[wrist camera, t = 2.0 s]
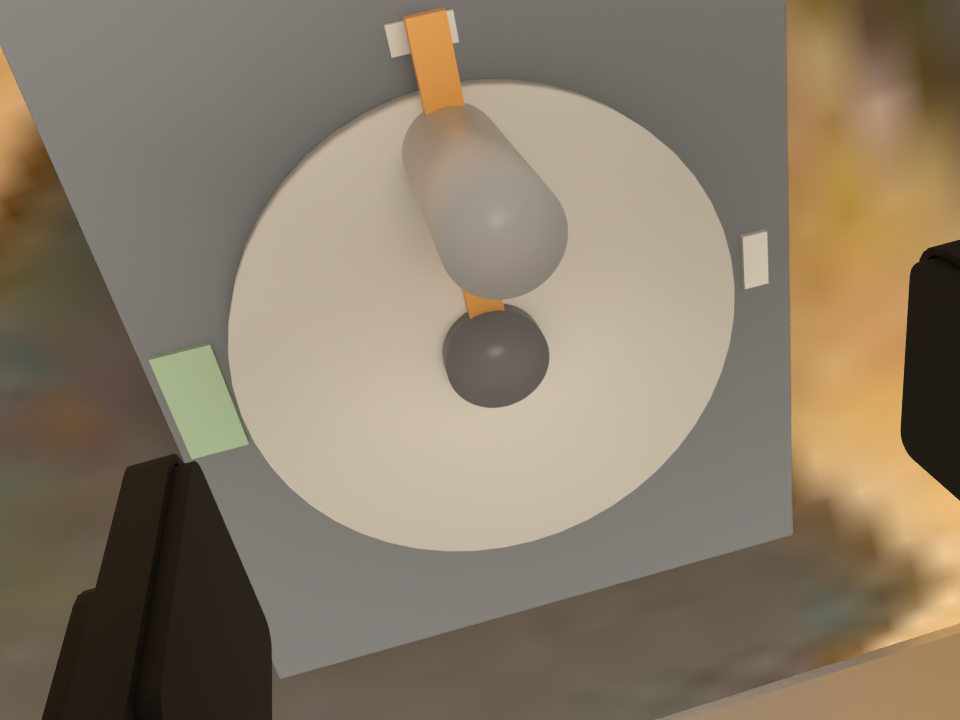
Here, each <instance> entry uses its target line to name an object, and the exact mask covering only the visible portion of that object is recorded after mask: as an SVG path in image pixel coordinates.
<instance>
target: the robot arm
mask: <svg viewBox="0 0 960 720" xmlns="http://www.w3.org/2000/svg"><path fill="white" fill-rule="evenodd" d="M901 438H902V442H903V445H904V447H905V449H906V451H907V453H908V454H909V456H910V457H911V458H912V459H913V460H914V461H915V462H917V463H918V464H919V465H920V466H921V467H922V468H923V469H924V470H926V471H927V472H928V473H929V474H930V475H931V476H932V477H934V478H935V479H936V480H937V481H938V482H939V483H940V484H942V485H943V486H944V487H945V488H946V489H947V490H948V491H949V492H951V493H952V494H953V495H954V496H955V497H956V498H957V499H959V500H960V240H957V241H953V242H950V243H946V244H942V245H939V246H935V247H931V248H928V249H927V250H926V251H924V252H923V254H922V256H921V258H920V261H919V262H918V263H916V264H915V265H914V266H913V268H912V269H911V273H910V283H909V299H908V316H907V332H906V349H905V366H904V382H903V399H902V416H901ZM42 720H272V643H271V636H270V631H269V627H268V623H267V620H266V618H265V615H264V613H263V610H262V608H261V606H260V603H259V601H258V599H257V596H256V594H255V592H254V589H253V587H252V585H251V582H250V580H249V578H248V575H247V573H246V571H245V569H244V566H243V564H242V562H241V559H240V557H239V555H238V552H237V550H236V548H235V545H234V543H233V541H232V538H231V536H230V534H229V531H228V529H227V527H226V524H225V522H224V520H223V517H222V515H221V513H220V510H219V508H218V506H217V503H216V501H215V499H214V496H213V494H212V492H211V490H210V487H209V485H208V483H207V480H206V478H205V476H204V473H203V471H202V469H201V467H200V465H199V464H198V463H197V462H196V461H192V462H188V463H184V464H183V462H182V460H181V459H180V458H179V457H178V456H177V455H176V454H172V455H168V456H165V457H161V458H157V459H154V460H150V461H146V462H143V463H139V464H135V465H132V466H129V467H127V469H126V471H125V473H124V477H123V481H122V485H121V489H120V493H119V497H118V501H117V505H116V509H115V513H114V517H113V521H112V525H111V529H110V533H109V537H108V541H107V545H106V548H105V552H104V556H103V560H102V564H101V568H100V572H99V576H98V580H97V584H96V588H93V589H89V590H86V591H83V592H82V593H81V594H80V595H78V596H77V599H76V601H75V603H74V605H73V608H72V612H71V616H70V619H69V623H68V626H67V630H66V634H65V637H64V641H63V644H62V648H61V652H60V655H59V659H58V662H57V666H56V670H55V673H54V677H53V681H52V684H51V688H50V691H49V695H48V699H47V702H46V706H45V709H44V713H43V717H42ZM657 720H960V624H957V625H954V626H951V627H948V628H945V629H941V630H938V631H935V632H932V633H929V634H925V635H922V636H919V637H916V638H913V639H910V640H906V641H903V642H900V643H897V644H894V645H890V646H887V647H884V648H881V649H878V650H875V651H871V652H868V653H865V654H862V655H859V656H855V657H852V658H849V659H846V660H843V661H840V662H836V663H833V664H830V665H827V666H824V667H821V668H817V669H814V670H811V671H808V672H805V673H802V674H798V675H795V676H792V677H789V678H786V679H783V680H779V681H776V682H773V683H770V684H767V685H764V686H760V687H757V688H754V689H751V690H748V691H745V692H742V693H738V694H735V695H732V696H729V697H726V698H723V699H719V700H716V701H713V702H710V703H707V704H704V705H701V706H697V707H694V708H691V709H688V710H685V711H682V712H679V713H676V714H673V715H669V716H666V717H663V718H660V719H657Z"/></svg>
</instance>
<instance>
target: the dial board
mask: <svg viewBox="0 0 960 720" xmlns="http://www.w3.org/2000/svg"><path fill="white" fill-rule="evenodd" d="M442 7H443V8H445V9H446V12H447V17H448V22H449V27H450V32H451V37H452V42H453V48H454V53H455V58H456V63H457V68H458V73H459V78H460V81H464V80H471V79H515V80H524V81H533V82H542V83H546V84H550V85H553V86H557V87H561V88H565V89H569V90H573V91H576V92H578V93H581V94H583V95H586V96H588V97H590V98H593V99H595V100H598V101H600V102H602V103H605V104H607V105H608V106H610V107H612V108H613V109H615V110H617V111H618V112H620V113H622V114H623V115H625V116H627V117H628V118H630V119H631V120H633V121H635V122H636V123H638V124H639V125H640V126H642V127H643V128H645V129H646V130H648V131H649V132H650V133H651V134H653V135H654V136H655V137H656V138H657V139H659V140H660V141H661V142H662V143H663V144H665V145H666V146H667V147H668V148H669V149H671V150H672V151H673V152H674V153H675V154H676V155H677V156H678V157H679V159H680V160H681V161H682V162H683V163H684V164H685V165H686V167H687V168H688V169H689V170H690V171H691V172H692V173H693V175H694V176H695V177H696V179H697V180H698V182H699V183H700V185H701V187H702V188H703V190H704V191H705V193H706V194H707V196H708V198H709V199H710V201H711V202H712V205H713V207H714V209H715V212H716V214H717V216H718V218H719V221H720V223H721V225H722V227H723V230H724V234H725V237H726V241H727V245H728V248H729V252H730V256H731V261H732V269H733V278H734V286H735V293H734V320H733V326H732V332H731V339H730V345H729V348H728V352H727V355H726V359H725V362H724V366H723V369H722V372H721V375H720V377H719V379H718V382H717V384H716V386H715V389H714V391H713V393H712V396H711V398H710V400H709V402H708V404H707V405H706V407H705V409H704V410H703V412H702V414H701V416H700V417H699V419H698V421H697V423H696V424H695V426H694V427H693V428H692V430H691V431H690V432H689V434H688V435H687V437H686V438H685V439H684V441H683V442H682V443H681V445H680V446H679V447H678V449H677V450H676V451H675V452H674V453H673V454H672V455H671V456H670V457H669V458H668V459H667V460H666V462H665V463H664V464H663V465H662V466H661V467H660V468H659V469H658V470H657V471H656V472H655V473H654V474H652V475H651V476H650V477H649V478H648V479H647V480H646V481H645V482H643V483H642V484H641V485H640V486H639V487H638V488H637V489H635V490H634V491H632V492H631V493H630V494H628V495H627V496H625V497H624V498H623V499H621V500H620V501H618V502H617V503H616V504H614V505H613V506H611V507H609V508H608V509H606V510H604V511H602V512H601V513H599V514H597V515H595V516H594V517H592V518H590V519H588V520H586V521H584V522H582V523H580V524H577V525H575V526H573V527H571V528H568V529H566V530H564V531H562V532H559V533H556V534H553V535H550V536H547V537H544V538H541V539H538V540H535V541H531V542H527V543H522V544H518V545H513V546H509V547H504V548H496V549H488V550H479V551H437V550H426V549H417V548H412V547H407V546H402V545H397V544H392V543H388V542H385V541H382V540H379V539H376V538H373V537H370V536H367V535H364V534H361V533H359V532H357V531H355V530H353V529H351V528H349V527H346V526H344V525H342V524H340V523H338V522H336V521H334V520H333V519H331V518H330V517H328V516H326V515H325V514H323V513H322V512H320V511H319V510H317V509H315V508H314V507H312V506H311V505H310V504H309V503H307V502H306V501H305V500H304V499H303V498H301V497H300V496H299V495H298V494H297V493H295V492H294V491H293V490H292V489H291V488H290V487H289V486H288V485H287V484H286V483H285V482H284V481H283V480H282V479H281V477H280V476H279V475H278V474H277V473H276V472H275V471H274V470H273V469H272V468H271V466H270V465H269V464H268V462H267V461H266V459H265V458H264V456H263V455H262V453H261V452H260V450H259V449H258V447H257V446H256V444H255V443H254V441H253V439H252V437H251V435H250V433H249V430H248V428H247V426H246V424H245V422H244V420H243V418H242V416H241V413H240V409H239V406H238V403H237V400H236V396H235V393H234V390H233V386H232V380H231V373H230V366H229V359H228V323H229V316H230V309H231V302H232V296H233V290H234V284H235V277H236V273H237V269H238V266H239V263H240V260H241V257H242V254H243V250H244V247H245V244H246V241H247V239H248V237H249V235H250V233H251V231H252V229H253V227H254V225H255V223H256V221H257V219H258V217H259V215H260V213H261V211H262V209H263V208H264V206H265V205H266V203H267V202H268V201H269V199H270V198H271V196H272V195H273V193H274V192H275V190H276V189H277V187H278V186H279V184H280V183H281V182H282V180H283V179H284V178H285V177H286V176H287V175H288V174H289V173H290V172H291V170H292V169H293V168H294V167H295V166H296V165H297V164H298V163H299V162H300V160H301V159H302V158H303V157H304V156H305V155H306V154H307V153H309V152H310V151H311V150H312V149H313V148H315V147H316V146H317V145H318V144H319V143H320V142H322V141H323V140H324V139H325V138H326V137H328V136H329V135H330V134H331V133H332V132H334V131H335V130H337V129H338V128H340V127H342V126H343V125H345V124H346V123H348V122H349V121H351V120H353V119H354V118H356V117H357V116H359V115H360V114H362V113H364V112H366V111H368V110H370V109H372V108H374V107H376V106H379V105H381V104H383V103H385V102H387V101H389V100H392V99H394V98H396V97H398V96H401V95H405V94H408V93H411V92H414V91H418V90H419V89H418V85H417V80H416V75H415V71H414V66H413V62H412V57H411V53H410V48H409V43H408V39H407V34H406V30H405V25H404V21H403V16H407V15H412V14H416V13H420V12H425V11H429V10H433V9H438V8H442ZM0 46H1V48H2V50H3V52H4V55H5V57H6V59H7V61H8V64H9V66H10V68H11V70H12V73H13V75H14V77H15V80H16V82H17V84H18V86H19V89H20V91H21V93H22V95H23V98H24V100H25V102H26V104H27V107H28V109H29V111H30V113H31V116H32V118H33V120H34V123H35V125H36V127H37V129H38V132H39V134H40V136H41V138H42V141H43V143H44V145H45V147H46V150H47V152H48V154H49V156H50V159H51V161H52V163H53V166H54V168H55V170H56V172H57V175H58V177H59V179H60V181H61V184H62V186H63V188H64V190H65V193H66V195H67V197H68V200H69V202H70V204H71V206H72V209H73V211H74V213H75V215H76V218H77V220H78V222H79V224H80V227H81V229H82V231H83V233H84V236H85V238H86V240H87V243H88V245H89V247H90V249H91V252H92V254H93V256H94V258H95V261H96V263H97V265H98V267H99V270H100V272H101V274H102V277H103V279H104V281H105V283H106V286H107V288H108V290H109V292H110V295H111V297H112V299H113V301H114V304H115V306H116V308H117V310H118V313H119V315H120V317H121V320H122V322H123V324H124V326H125V329H126V331H127V333H128V335H129V338H130V340H131V342H132V344H133V347H134V349H135V351H136V354H137V356H138V358H139V360H140V363H141V365H142V367H143V369H144V372H145V374H146V376H147V378H148V381H149V383H150V385H151V387H152V390H153V392H154V394H155V397H156V399H157V401H158V403H159V406H160V408H161V410H162V412H163V415H164V417H165V419H166V421H167V424H168V426H169V428H170V431H171V433H172V435H173V437H174V440H175V442H176V444H177V446H178V449H179V451H180V453H181V455H182V458H183V460H184V462H185V463H188V462H192V461H196V462H197V463H198V464H199V465H200V467H201V469H202V471H203V473H204V476H205V478H206V480H207V483H208V485H209V487H210V490H211V492H212V494H213V496H214V499H215V501H216V503H217V506H218V508H219V510H220V513H221V515H222V517H223V520H224V522H225V524H226V527H227V529H228V531H229V534H230V536H231V538H232V541H233V543H234V545H235V548H236V550H237V552H238V555H239V557H240V559H241V562H242V564H243V566H244V569H245V571H246V573H247V575H248V578H249V580H250V582H251V585H252V587H253V589H254V592H255V594H256V596H257V599H258V601H259V603H260V606H261V608H262V610H263V613H264V615H265V618H266V620H267V623H268V627H269V631H270V636H271V643H272V662H273V664H274V666H275V668H276V671H277V673H278V675H279V677H280V679H282V678H286V677H289V676H293V675H296V674H300V673H303V672H307V671H310V670H314V669H317V668H321V667H325V666H328V665H332V664H335V663H339V662H342V661H346V660H349V659H353V658H357V657H360V656H364V655H367V654H371V653H374V652H378V651H381V650H385V649H388V648H392V647H396V646H399V645H403V644H406V643H410V642H413V641H417V640H420V639H424V638H428V637H431V636H435V635H438V634H442V633H445V632H449V631H452V630H456V629H459V628H463V627H467V626H470V625H474V624H477V623H481V622H484V621H488V620H491V619H495V618H499V617H502V616H506V615H509V614H513V613H516V612H520V611H523V610H527V609H530V608H534V607H538V606H541V605H545V604H548V603H552V602H555V601H559V600H562V599H566V598H570V597H573V596H577V595H580V594H584V593H587V592H591V591H594V590H598V589H601V588H605V587H609V586H612V585H616V584H619V583H623V582H626V581H630V580H633V579H637V578H641V577H644V576H648V575H651V574H655V573H658V572H662V571H665V570H669V569H672V568H676V567H680V566H683V565H687V564H690V563H694V562H697V561H701V560H704V559H708V558H712V557H715V556H719V555H722V554H726V553H729V552H733V551H736V550H740V549H743V548H747V547H751V546H754V545H758V544H761V543H765V542H768V541H772V540H775V539H779V538H782V537H786V536H790V535H793V529H792V452H791V376H790V300H789V224H788V148H787V72H786V0H0Z"/></svg>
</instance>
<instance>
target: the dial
mask: <svg viewBox="0 0 960 720" xmlns="http://www.w3.org/2000/svg"><path fill="white" fill-rule="evenodd" d="M403 21H404V25H405V30H406V34H407V39H408V43H409V48H410V53H411V57H412V62H413V66H414V71H415V75H416V80H417V85H418V89H419V90H418V91H414V92H411V93H408V94H405V95H401V96H398V97H396V98H394V99H392V100H389V101H387V102H385V103H383V104H381V105H379V106H376V107H374V108H372V109H370V110H368V111H366V112H364V113H362V114H360V115H359V116H357V117H356V118H354V119H353V120H351V121H349V122H348V123H346V124H345V125H343V126H342V127H340V128H338V129H337V130H335V131H334V132H332V133H331V134H330V135H329V136H328V137H326V138H325V139H324V140H323V141H322V142H320V143H319V144H318V145H317V146H316V147H315V148H313V149H312V150H311V151H310V152H309V153H307V154H306V155H305V156H304V157H303V158H302V159H301V160H300V162H299V163H298V164H297V165H296V166H295V167H294V168H293V169H292V170H291V172H290V173H289V174H288V175H287V176H286V177H285V178H284V179H283V180H282V182H281V183H280V184H279V186H278V187H277V189H276V190H275V192H274V193H273V195H272V196H271V198H270V199H269V201H268V202H267V203H266V205H265V206H264V208H263V209H262V211H261V213H260V215H259V217H258V219H257V221H256V223H255V225H254V227H253V229H252V231H251V233H250V235H249V237H248V239H247V241H246V244H245V247H244V250H243V254H242V257H241V260H240V263H239V266H238V269H237V273H236V277H235V284H234V290H233V296H232V302H231V309H230V316H229V323H228V359H229V366H230V373H231V380H232V386H233V390H234V393H235V396H236V400H237V403H238V406H239V409H240V413H241V416H242V418H243V420H244V422H245V424H246V426H247V428H248V430H249V433H250V435H251V437H252V439H253V441H254V443H255V444H256V446H257V447H258V449H259V450H260V452H261V453H262V455H263V456H264V458H265V459H266V461H267V462H268V464H269V465H270V466H271V468H272V469H273V470H274V471H275V472H276V473H277V474H278V475H279V476H280V477H281V479H282V480H283V481H284V482H285V483H286V484H287V485H288V486H289V487H290V488H291V489H292V490H293V491H294V492H295V493H297V494H298V495H299V496H300V497H301V498H303V499H304V500H305V501H306V502H307V503H309V504H310V505H311V506H312V507H314V508H315V509H317V510H319V511H320V512H322V513H323V514H325V515H326V516H328V517H330V518H331V519H333V520H334V521H336V522H338V523H340V524H342V525H344V526H346V527H349V528H351V529H353V530H355V531H357V532H359V533H361V534H364V535H367V536H370V537H373V538H376V539H379V540H382V541H385V542H388V543H392V544H397V545H402V546H407V547H412V548H417V549H426V550H437V551H479V550H488V549H496V548H504V547H509V546H513V545H518V544H522V543H527V542H531V541H535V540H538V539H541V538H544V537H547V536H550V535H553V534H556V533H559V532H562V531H564V530H566V529H568V528H571V527H573V526H575V525H577V524H580V523H582V522H584V521H586V520H588V519H590V518H592V517H594V516H595V515H597V514H599V513H601V512H602V511H604V510H606V509H608V508H609V507H611V506H613V505H614V504H616V503H617V502H618V501H620V500H621V499H623V498H624V497H625V496H627V495H628V494H630V493H631V492H632V491H634V490H635V489H637V488H638V487H639V486H640V485H641V484H642V483H643V482H645V481H646V480H647V479H648V478H649V477H650V476H651V475H652V474H654V473H655V472H656V471H657V470H658V469H659V468H660V467H661V466H662V465H663V464H664V463H665V462H666V460H667V459H668V458H669V457H670V456H671V455H672V454H673V453H674V452H675V451H676V450H677V449H678V447H679V446H680V445H681V443H682V442H683V441H684V439H685V438H686V437H687V435H688V434H689V432H690V431H691V430H692V428H693V427H694V426H695V424H696V423H697V421H698V419H699V417H700V416H701V414H702V412H703V410H704V409H705V407H706V405H707V404H708V402H709V400H710V398H711V396H712V393H713V391H714V389H715V386H716V384H717V382H718V379H719V377H720V375H721V372H722V369H723V366H724V362H725V359H726V355H727V352H728V348H729V345H730V339H731V332H732V326H733V320H734V293H735V286H734V278H733V269H732V261H731V256H730V252H729V248H728V245H727V241H726V237H725V234H724V230H723V227H722V225H721V223H720V221H719V218H718V216H717V214H716V212H715V209H714V207H713V205H712V202H711V201H710V199H709V198H708V196H707V194H706V193H705V191H704V190H703V188H702V187H701V185H700V183H699V182H698V180H697V179H696V177H695V176H694V175H693V173H692V172H691V171H690V170H689V169H688V168H687V167H686V165H685V164H684V163H683V162H682V161H681V160H680V159H679V157H678V156H677V155H676V154H675V153H674V152H673V151H672V150H671V149H669V148H668V147H667V146H666V145H665V144H663V143H662V142H661V141H660V140H659V139H657V138H656V137H655V136H654V135H653V134H651V133H650V132H649V131H648V130H646V129H645V128H643V127H642V126H640V125H639V124H638V123H636V122H635V121H633V120H631V119H630V118H628V117H627V116H625V115H623V114H622V113H620V112H618V111H617V110H615V109H613V108H612V107H610V106H608V105H607V104H605V103H602V102H600V101H598V100H595V99H593V98H590V97H588V96H586V95H583V94H581V93H578V92H576V91H573V90H569V89H565V88H561V87H557V86H553V85H550V84H546V83H542V82H533V81H524V80H515V79H471V80H464V81H460V78H459V73H458V68H457V63H456V58H455V53H454V48H453V42H452V37H451V32H450V27H449V22H448V17H447V12H446V9H445V8H443V7H442V8H438V9H433V10H429V11H425V12H420V13H416V14H412V15H407V16H403Z"/></svg>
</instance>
